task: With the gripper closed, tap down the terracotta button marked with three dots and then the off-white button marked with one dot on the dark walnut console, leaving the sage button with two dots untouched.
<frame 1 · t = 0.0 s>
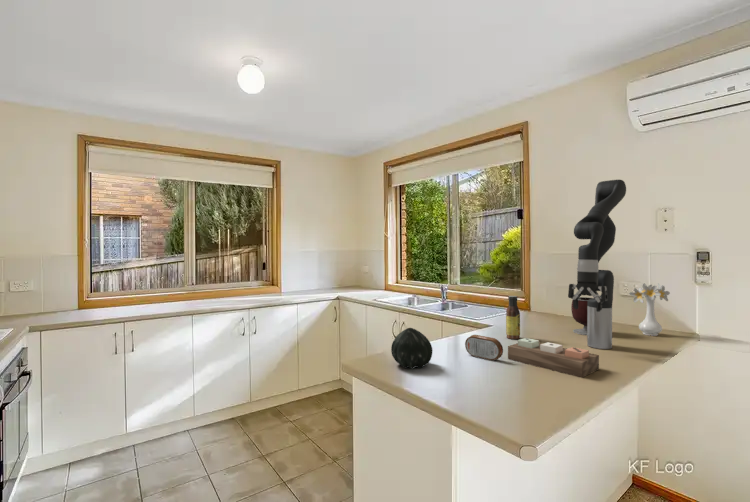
hand: (587, 310, 155), 17 cm above the counter, tool pointing down, fingers open, 8 cm apart
squash: (411, 365, 138), on the counter
mate gourd: (585, 333, 190), on the counter
one dot button: (551, 349, 140), point 5 cm above the counter, slide at 0.0 cm
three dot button: (576, 354, 133), point 5 cm above the counter, slide at 0.0 cm
sauce bottle: (513, 338, 179), on the counter
flower vase: (650, 335, 185), on the counter
tin: (483, 358, 147), on the counter
two dot button: (528, 344, 147), point 5 cm above the counter, slide at 0.0 cm
console: (551, 363, 140), on the counter
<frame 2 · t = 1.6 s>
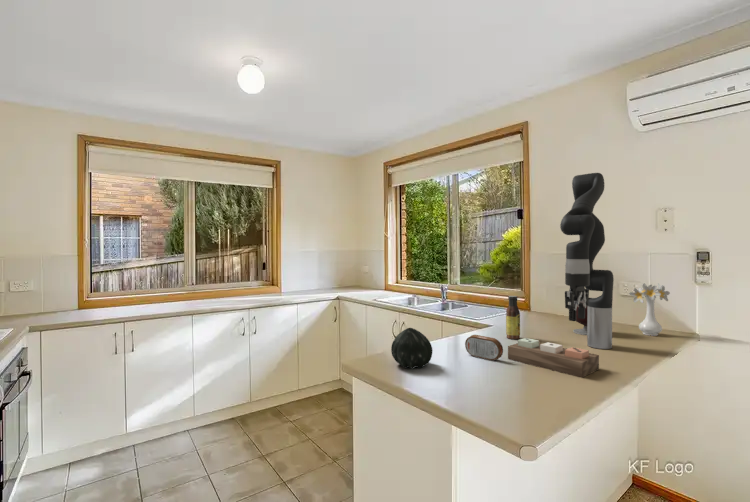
hand: (577, 319, 133), 18 cm above the counter, tool pointing down, fingers open, 6 cm apart
nothing on the counter moved.
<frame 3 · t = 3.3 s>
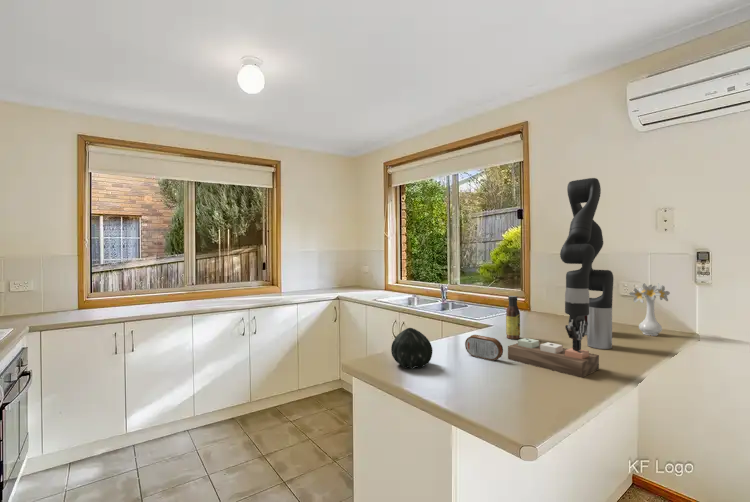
hand: (576, 350, 133), 7 cm above the counter, tool pointing down, fingers closed
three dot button: (576, 355, 133), point 5 cm above the counter, slide at 0.2 cm, touching gripper
everything else where it was.
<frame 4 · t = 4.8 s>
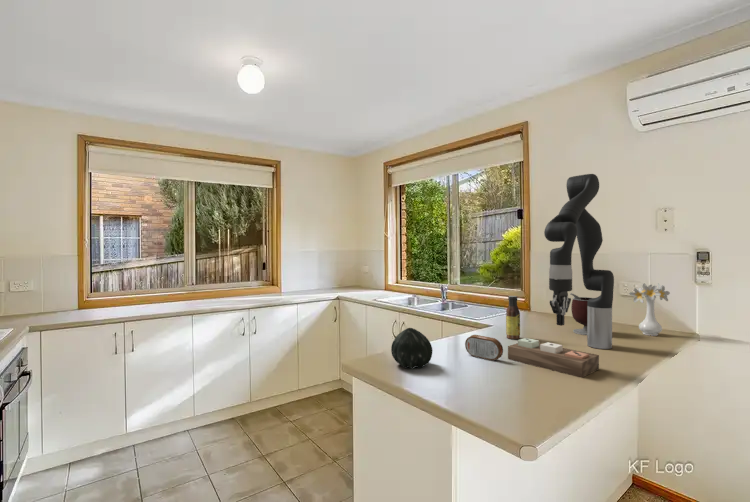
hand: (560, 325, 137), 15 cm above the counter, tool pointing down, fingers closed
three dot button: (576, 358, 133), point 4 cm above the counter, slide at 1.3 cm
everything else where it was.
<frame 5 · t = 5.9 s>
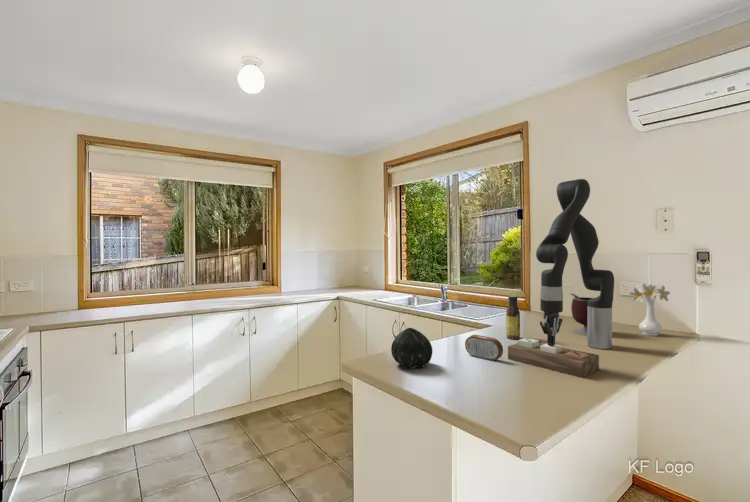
hand: (551, 345, 140), 7 cm above the counter, tool pointing down, fingers closed
one dot button: (551, 350, 140), point 5 cm above the counter, slide at 0.3 cm, touching gripper
everything else where it was.
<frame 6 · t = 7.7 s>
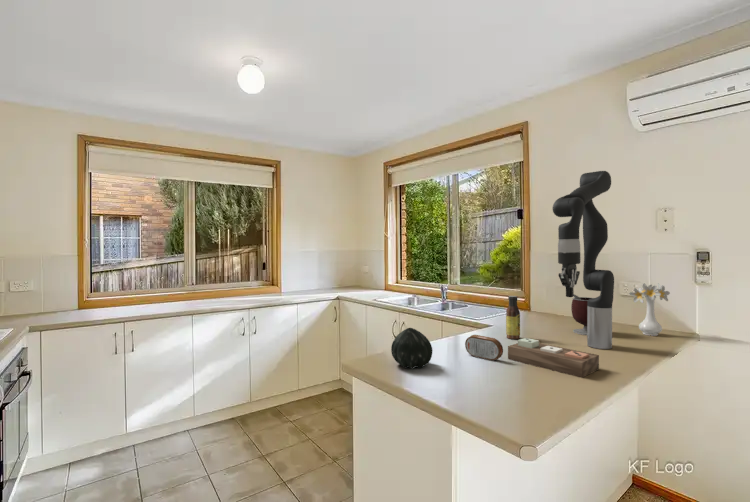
hand: (569, 296, 143), 24 cm above the counter, tool pointing down, fingers closed
one dot button: (551, 352, 140), point 4 cm above the counter, slide at 1.3 cm
everything else where it was.
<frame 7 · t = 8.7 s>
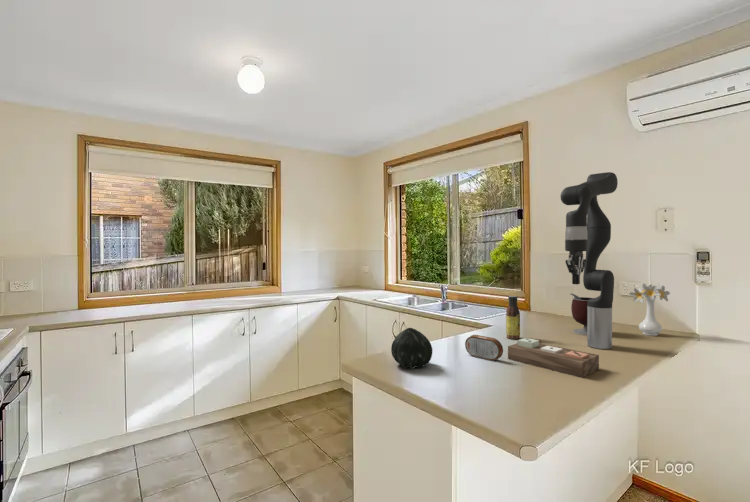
hand: (575, 284, 144), 29 cm above the counter, tool pointing down, fingers closed
nothing on the counter moved.
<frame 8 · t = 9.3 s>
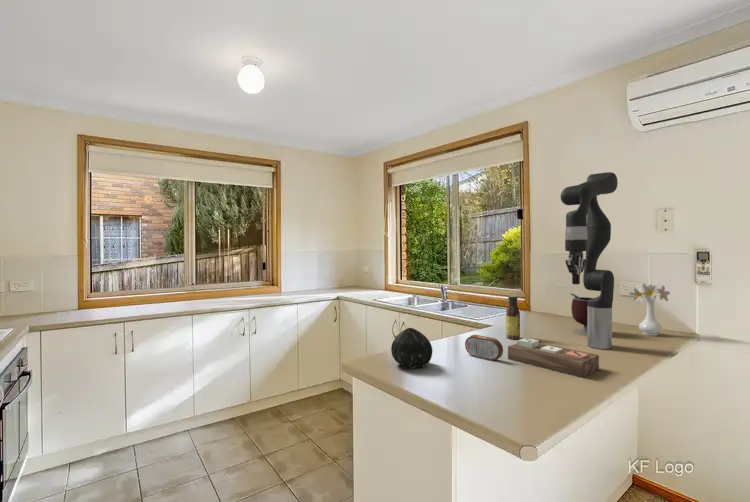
hand: (575, 284, 144), 29 cm above the counter, tool pointing down, fingers closed
nothing on the counter moved.
at the end: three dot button slide at 1.3 cm; one dot button slide at 1.3 cm; two dot button slide at 0.0 cm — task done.
